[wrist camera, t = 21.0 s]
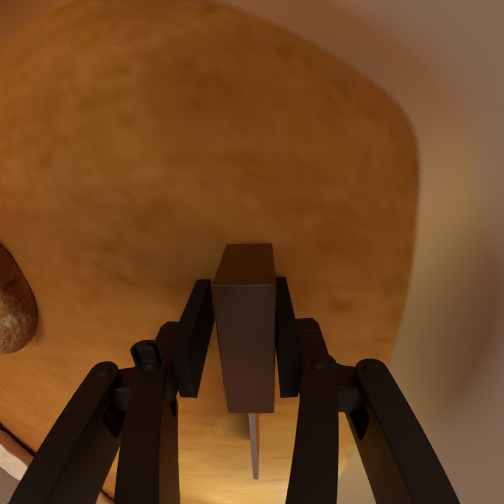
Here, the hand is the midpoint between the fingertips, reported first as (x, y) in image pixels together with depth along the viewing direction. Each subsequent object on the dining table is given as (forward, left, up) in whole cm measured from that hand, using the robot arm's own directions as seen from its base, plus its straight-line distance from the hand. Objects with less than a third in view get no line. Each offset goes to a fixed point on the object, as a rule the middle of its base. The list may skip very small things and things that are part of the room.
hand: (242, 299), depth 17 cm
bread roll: (+17, -14, 0) cm, 22 cm away
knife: (+3, +5, 0) cm, 6 cm away
